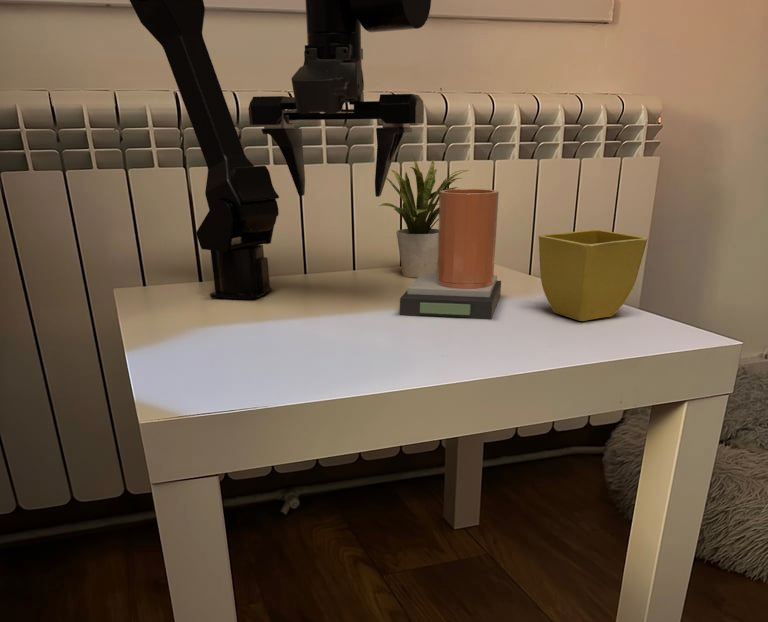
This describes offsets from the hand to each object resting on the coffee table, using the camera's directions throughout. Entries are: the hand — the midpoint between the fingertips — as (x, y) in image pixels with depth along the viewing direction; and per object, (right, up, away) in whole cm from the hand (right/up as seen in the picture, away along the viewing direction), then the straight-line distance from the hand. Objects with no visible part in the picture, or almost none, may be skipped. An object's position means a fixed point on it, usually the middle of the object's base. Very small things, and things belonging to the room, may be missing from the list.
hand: (339, 195), depth 84 cm
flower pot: (+29, -14, +2) cm, 32 cm away
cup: (+15, -8, +6) cm, 18 cm away
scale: (+14, -10, +8) cm, 19 cm away
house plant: (+11, -1, +26) cm, 28 cm away
